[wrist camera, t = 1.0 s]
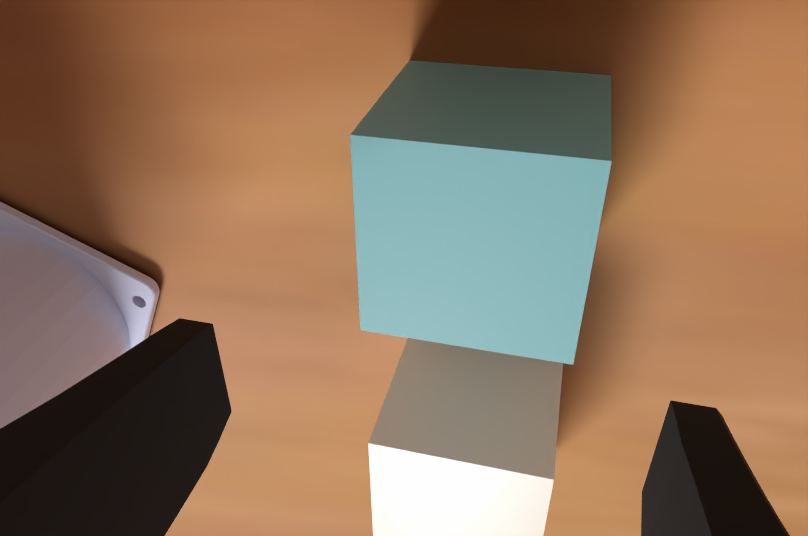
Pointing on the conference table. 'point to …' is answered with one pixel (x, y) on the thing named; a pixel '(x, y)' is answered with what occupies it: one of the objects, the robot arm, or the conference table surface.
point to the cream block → (465, 444)
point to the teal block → (481, 205)
